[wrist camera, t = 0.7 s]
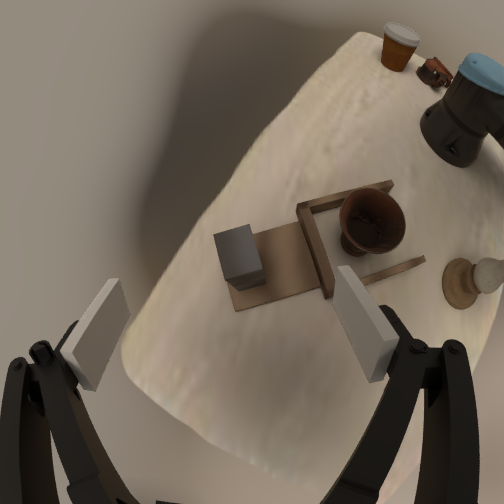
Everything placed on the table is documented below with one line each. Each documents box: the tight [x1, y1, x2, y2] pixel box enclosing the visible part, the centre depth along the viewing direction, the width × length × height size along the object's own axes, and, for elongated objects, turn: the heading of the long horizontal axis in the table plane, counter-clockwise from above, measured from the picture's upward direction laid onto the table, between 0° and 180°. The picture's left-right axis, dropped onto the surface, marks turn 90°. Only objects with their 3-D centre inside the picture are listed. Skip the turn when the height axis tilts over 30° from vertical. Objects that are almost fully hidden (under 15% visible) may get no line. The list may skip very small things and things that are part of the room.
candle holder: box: [443, 258, 504, 309], centre depth 27 cm, size 9×9×20 cm
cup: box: [340, 188, 406, 256], centre depth 36 cm, size 9×9×10 cm
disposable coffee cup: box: [381, 22, 421, 72], centre depth 45 cm, size 10×10×12 cm
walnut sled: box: [213, 180, 426, 311], centre depth 34 cm, size 29×14×12 cm, turn 106°
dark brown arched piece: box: [416, 57, 454, 88], centre depth 46 cm, size 12×10×8 cm
